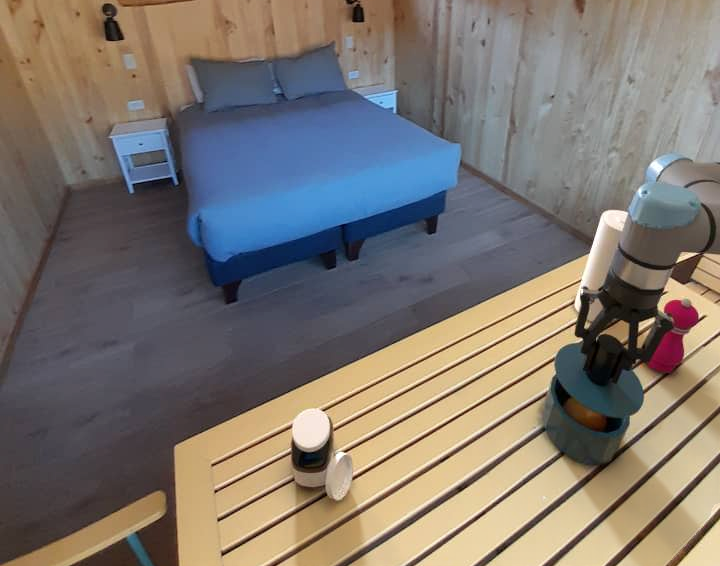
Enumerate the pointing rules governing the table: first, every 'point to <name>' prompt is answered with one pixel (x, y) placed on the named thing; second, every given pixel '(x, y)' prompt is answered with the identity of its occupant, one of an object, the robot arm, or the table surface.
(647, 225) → the robot arm
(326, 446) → the spread jar
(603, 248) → the cylinder container
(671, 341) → the pepper mill
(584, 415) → the fruit
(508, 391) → the table surface
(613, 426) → the pot
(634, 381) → the lid
